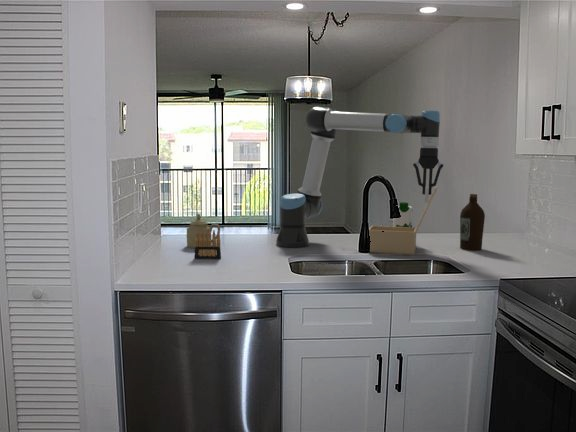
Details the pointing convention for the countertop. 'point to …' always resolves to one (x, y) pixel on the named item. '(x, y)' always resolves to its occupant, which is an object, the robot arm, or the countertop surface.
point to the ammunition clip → (202, 247)
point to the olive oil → (471, 225)
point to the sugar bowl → (198, 226)
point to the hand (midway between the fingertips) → (426, 202)
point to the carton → (392, 240)
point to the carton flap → (426, 208)
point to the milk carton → (404, 216)
